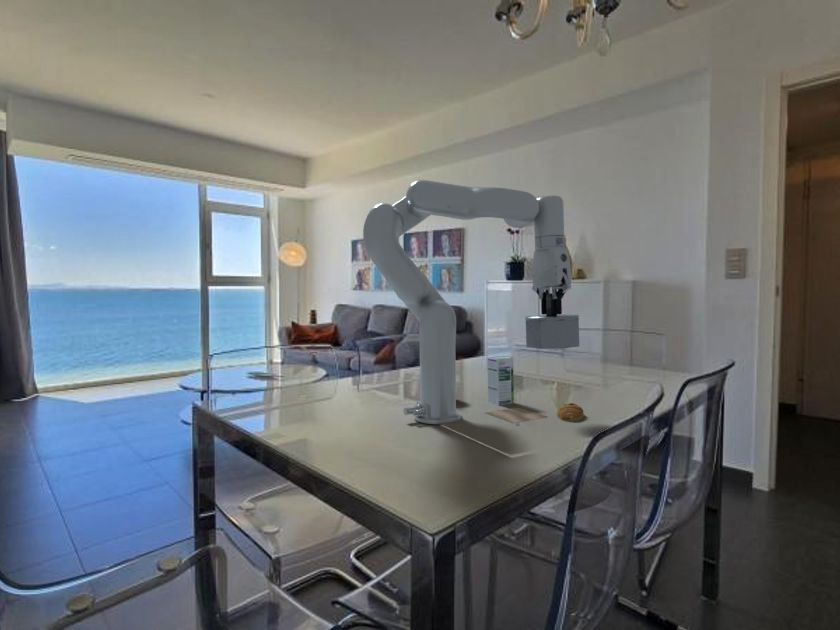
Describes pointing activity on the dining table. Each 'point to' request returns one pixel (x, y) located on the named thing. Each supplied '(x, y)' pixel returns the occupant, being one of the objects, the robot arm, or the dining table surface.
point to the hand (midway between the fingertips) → (551, 313)
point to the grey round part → (552, 329)
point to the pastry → (570, 412)
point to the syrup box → (500, 380)
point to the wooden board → (515, 415)
